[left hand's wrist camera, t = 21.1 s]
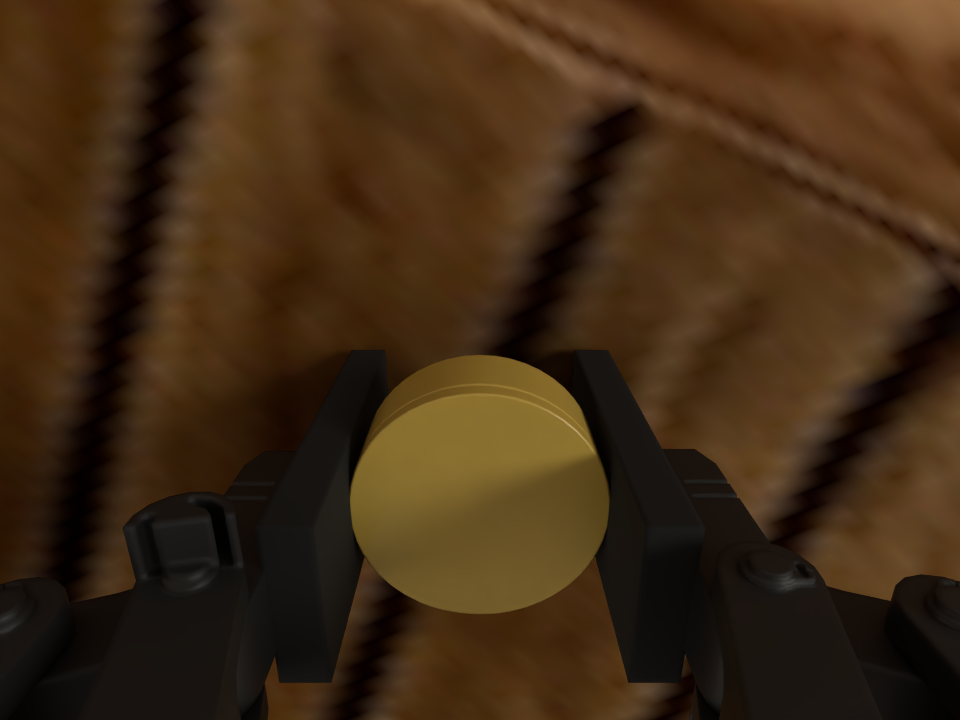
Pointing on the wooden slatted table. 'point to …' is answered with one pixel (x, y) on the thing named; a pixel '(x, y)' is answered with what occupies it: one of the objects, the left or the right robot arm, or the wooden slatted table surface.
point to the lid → (479, 487)
